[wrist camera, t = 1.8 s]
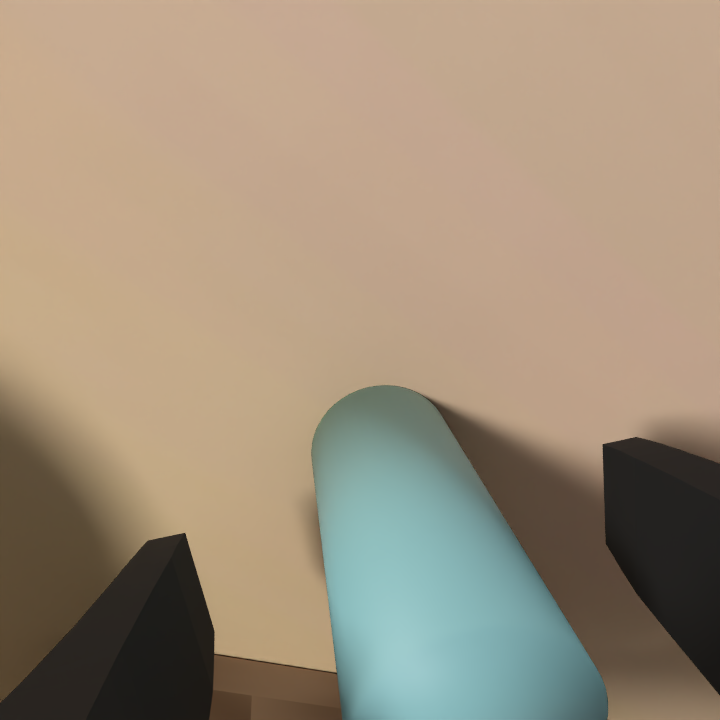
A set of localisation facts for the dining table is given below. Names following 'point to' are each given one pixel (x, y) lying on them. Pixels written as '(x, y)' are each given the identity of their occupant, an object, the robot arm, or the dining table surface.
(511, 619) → the peg
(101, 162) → the dining table surface
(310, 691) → the socket block
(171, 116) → the dining table surface
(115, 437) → the dining table surface
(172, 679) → the robot arm
